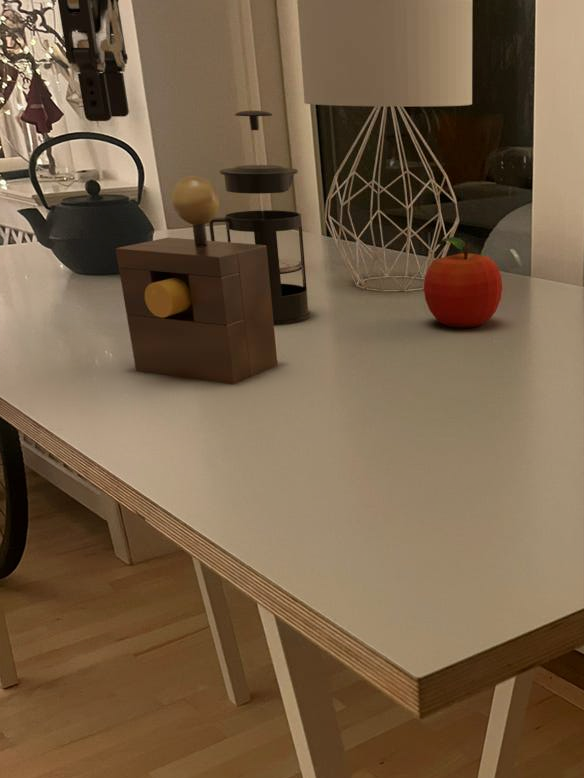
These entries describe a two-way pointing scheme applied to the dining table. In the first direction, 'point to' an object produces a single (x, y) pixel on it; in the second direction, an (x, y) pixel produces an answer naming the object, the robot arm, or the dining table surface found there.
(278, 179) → the french press
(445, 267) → the fruit
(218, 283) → the switch box
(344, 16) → the table lamp
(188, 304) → the button
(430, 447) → the dining table surface
